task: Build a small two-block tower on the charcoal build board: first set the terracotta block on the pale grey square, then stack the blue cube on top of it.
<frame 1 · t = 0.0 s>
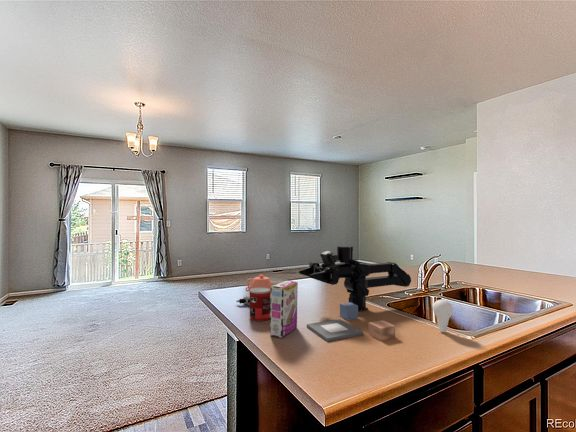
hand: (304, 274, 122), 17 cm above the worktop, tool horizontal, fingers open, 9 cm apart
sugar bowl: (259, 295, 155), on the worktop
blue cube: (348, 317, 121), on the worktop
build board: (334, 330, 107), on the worktop
terracotta block: (381, 336, 102), on the worktop
lightbulb: (442, 332, 105), on the worktop
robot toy: (256, 306, 137), on the worktop
canned food: (259, 318, 120), on the worktop
candy bar box: (284, 332, 106), on the worktop
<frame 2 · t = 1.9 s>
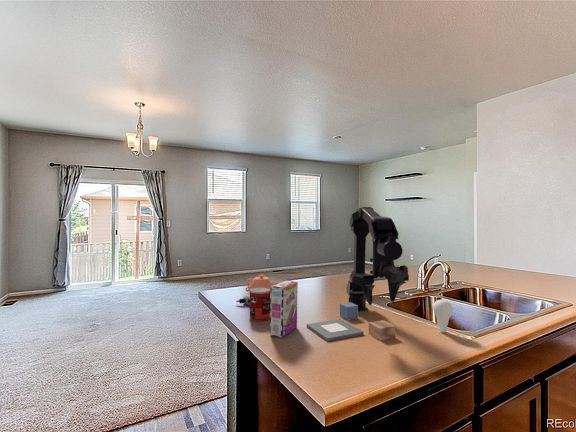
hand: (381, 303, 103), 11 cm above the worktop, tool pointing down, fingers open, 9 cm apart
nothing on the worktop moved.
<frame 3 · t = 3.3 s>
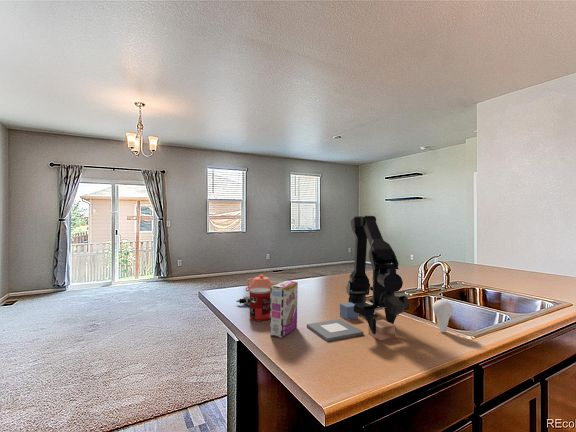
hand: (381, 332, 102), 1 cm above the worktop, tool pointing down, fingers closed on terracotta block, 6 cm apart
terracotta block: (381, 335, 102), on the worktop, touching gripper
everything else where it was.
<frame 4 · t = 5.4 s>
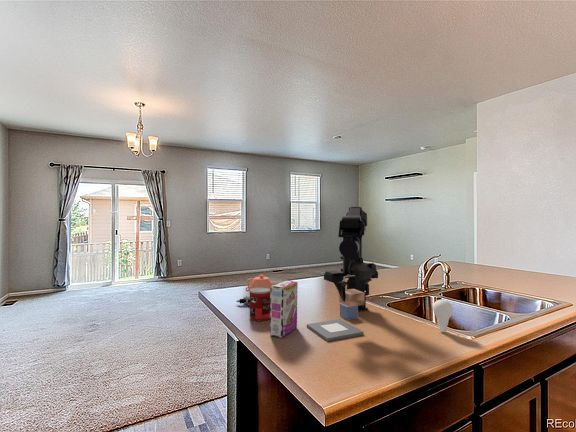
hand: (351, 300, 105), 11 cm above the worktop, tool pointing down, fingers closed on terracotta block, 6 cm apart
terracotta block: (351, 303, 105), point 10 cm above the worktop, touching gripper
everything else where it was.
when the fingers open (4 cm above the worktop, at t = 7.6 s): terracotta block drops 1 cm, resting on build board.
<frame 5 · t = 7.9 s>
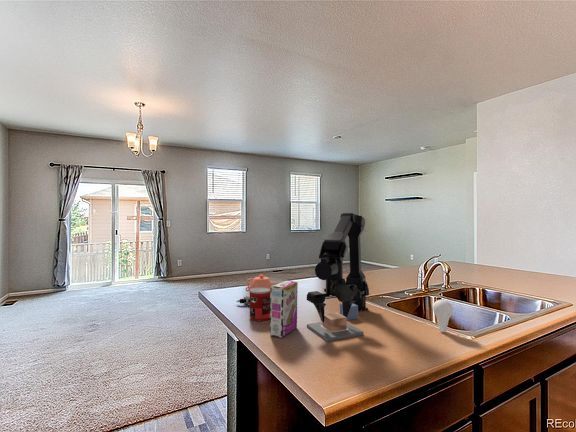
hand: (334, 320, 107), 4 cm above the worktop, tool pointing down, fingers open, 9 cm apart
terracotta block: (334, 327, 107), point 1 cm above the worktop, touching build board
everything else where it was.
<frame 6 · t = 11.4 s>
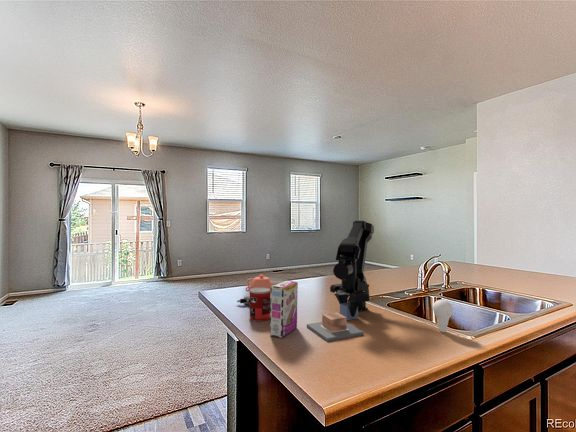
hand: (348, 314, 121), 1 cm above the worktop, tool pointing down, fingers closed on blue cube, 5 cm apart
blue cube: (348, 317, 121), on the worktop, touching gripper
everything else where it was.
when the fingers open (8 cm above the worktop, at t = 14.9 s): blue cube drops 1 cm, resting on terracotta block.
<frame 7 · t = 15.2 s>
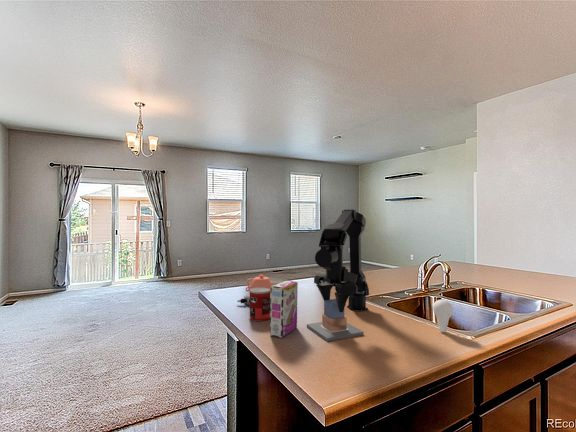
hand: (334, 308, 107), 8 cm above the worktop, tool pointing down, fingers open, 8 cm apart
blue cube: (334, 315, 107), point 5 cm above the worktop, touching terracotta block
terracotta block: (334, 327, 107), point 1 cm above the worktop, touching build board, blue cube
everything else where it was.
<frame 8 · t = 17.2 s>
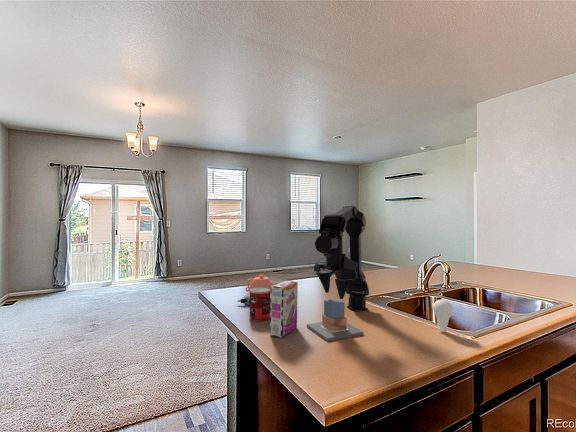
hand: (334, 295, 107), 12 cm above the worktop, tool pointing down, fingers open, 9 cm apart
nothing on the worktop moved.
at the end: terracotta block inside the target area on the build board (0.0 cm from its centre), point 1.1 cm above the build board's base; blue cube 0.0 cm off-centre on the build board, point 5.1 cm above the build board's base; blue cube tilted 0° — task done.
